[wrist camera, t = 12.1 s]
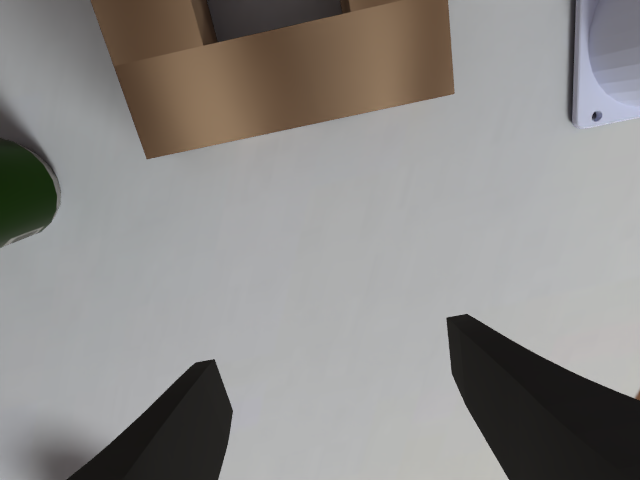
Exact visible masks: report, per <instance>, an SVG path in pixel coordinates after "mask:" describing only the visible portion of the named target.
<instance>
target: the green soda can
mask: <svg viewBox="0 0 640 480" xmlns="http://www.w3.org/2000/svg"><path fill="white" fill-rule="evenodd" d="M60 200H61V191H60V187H59V183H58V180H57V178H56V176H55V174H54V173H53V171H52V169H51V168H50V166H49V165H48V164H47V163H46V162H45V161H44V160H43V159H42V158H41V157H40V156H39V155H38V154H36V153H34V152H33V151H31V150H29V149H27V148H26V147H24V146H22V145H20V144H17V143H15V142H13V141H9V140H5V139H2V138H0V248H1V247H4V246H6V245H9V244H11V243H14V242H16V241H19V240H21V239H24V238H26V237H29V236H32V235H34V234H37V233H39V232H41V231H42V230H44V229H45V228H46V227H47V226H48V225H49V224H50V223H51V222H52V220H53V219H54V217H55V215H56V213H57V211H58V209H59V206H60Z"/></svg>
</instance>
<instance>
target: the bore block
mask: <svg viewBox="0 0 640 480" xmlns="http://www.w3.org/2000/svg"><path fill="white" fill-rule="evenodd" d="M91 3H92V6H93V9H94V12H95V14H96V17H97V20H98V23H99V26H100V29H101V31H102V34H103V37H104V40H105V43H106V45H107V48H108V51H109V54H110V57H111V60H112V62H113V65H114V68H115V71H116V74H117V76H118V79H119V82H120V85H121V88H122V91H123V93H124V96H125V99H126V102H127V105H128V107H129V110H130V113H131V116H132V119H133V122H134V124H135V127H136V130H137V133H138V136H139V138H140V141H141V144H142V147H143V150H144V153H145V155H146V158H147V159H151V158H155V157H160V156H165V155H169V154H174V153H179V152H183V151H188V150H193V149H198V148H202V147H207V146H212V145H216V144H221V143H226V142H230V141H235V140H240V139H245V138H249V137H254V136H259V135H263V134H268V133H273V132H277V131H282V130H287V129H292V128H296V127H301V126H306V125H310V124H315V123H320V122H324V121H329V120H334V119H339V118H343V117H348V116H353V115H357V114H362V113H367V112H371V111H376V110H381V109H386V108H390V107H395V106H400V105H404V104H409V103H414V102H418V101H423V100H428V99H433V98H437V97H442V96H447V95H451V94H454V80H453V65H452V51H451V37H450V23H449V9H448V0H340V3H341V9H342V14H340V15H336V16H331V17H327V18H323V19H318V20H314V21H309V22H305V23H301V24H296V25H292V26H288V27H283V28H279V29H274V30H270V31H266V32H261V33H257V34H253V35H248V36H244V37H239V38H235V39H231V40H226V41H222V42H217V38H216V34H215V30H214V26H213V23H212V19H211V15H210V11H209V7H208V4H207V0H91Z"/></svg>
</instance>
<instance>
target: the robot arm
mask: <svg viewBox="0 0 640 480" xmlns="http://www.w3.org/2000/svg"><path fill="white" fill-rule="evenodd" d="M594 112H596V118H595V119H594V121H593V120H592V114H593V113H594ZM639 117H640V0H576V18H575V50H574V82H573V113H572V122H573V125H574V126H575V127H576V128H590V127H595V126H600V125H605V124H610V123H615V122H620V121H625V120H629V119H634V118H639ZM447 328H448V339H449V349H450V360H451V370H452V375H453V377H454V380H455V382H456V384H457V387H458V389H459V391H460V393H461V396H462V398H463V400H464V402H465V405H466V406H467V408H468V410H469V412H470V414H471V415H472V417H473V419H474V420H475V422H476V424H477V426H478V427H479V429H480V431H481V433H482V434H483V436H484V438H485V439H486V441H487V443H488V444H489V446H490V448H491V450H492V451H493V453H494V455H495V456H496V458H497V460H498V462H499V463H500V465H501V467H502V468H503V470H504V472H505V473H506V475H507V477H508V479H509V480H640V401H639V400H637V399H634V398H632V397H629V396H627V395H624V394H621V393H619V392H616V391H614V390H612V389H609V388H607V387H605V386H602V385H600V384H598V383H595V382H593V381H591V380H588V379H586V378H584V377H582V376H579V375H577V374H575V373H573V372H571V371H569V370H567V369H565V368H563V367H561V366H559V365H557V364H555V363H553V362H551V361H549V360H547V359H545V358H543V357H541V356H539V355H537V354H535V353H533V352H532V351H530V350H528V349H526V348H524V347H522V346H521V345H519V344H517V343H515V342H514V341H512V340H510V339H508V338H507V337H505V336H503V335H502V334H500V333H498V332H497V331H495V330H493V329H492V328H490V327H488V326H487V325H485V324H483V323H482V322H480V321H478V320H477V319H475V318H473V317H471V316H470V315H468V314H464V315H459V316H453V317H447ZM232 413H233V409H232V407H231V404H230V401H229V398H228V396H227V393H226V390H225V387H224V384H223V382H222V379H221V376H220V373H219V370H218V368H217V365H216V362H215V359H213V360H207V361H202V362H196V363H195V364H194V365H192V366H191V367H190V368H189V369H188V370H187V371H186V372H185V373H184V374H183V375H182V376H181V377H179V378H178V379H177V380H176V381H175V382H174V383H173V384H172V385H171V386H170V387H169V388H168V389H167V390H166V391H165V392H164V393H163V394H162V395H161V396H160V397H159V398H158V399H157V400H156V401H155V402H154V403H153V404H152V405H151V406H150V407H149V408H148V409H147V410H146V411H145V412H144V413H143V414H142V415H141V416H140V417H139V418H137V419H136V420H135V421H134V422H133V423H132V424H131V425H130V426H129V427H128V428H127V429H126V430H124V431H123V432H122V433H121V434H120V435H119V436H118V437H117V438H116V439H115V440H114V441H112V442H111V443H110V444H109V445H108V446H107V447H106V448H105V449H103V450H102V451H101V452H100V453H99V454H98V455H96V456H95V457H94V458H93V459H92V460H90V461H89V462H88V463H87V464H85V465H84V466H83V467H82V468H80V469H79V470H78V471H77V472H76V473H74V474H73V475H72V476H71V477H69V478H68V479H67V480H218V478H219V474H220V471H221V467H222V463H223V460H224V456H225V453H226V449H227V445H228V440H229V434H230V427H231V420H232Z"/></svg>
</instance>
